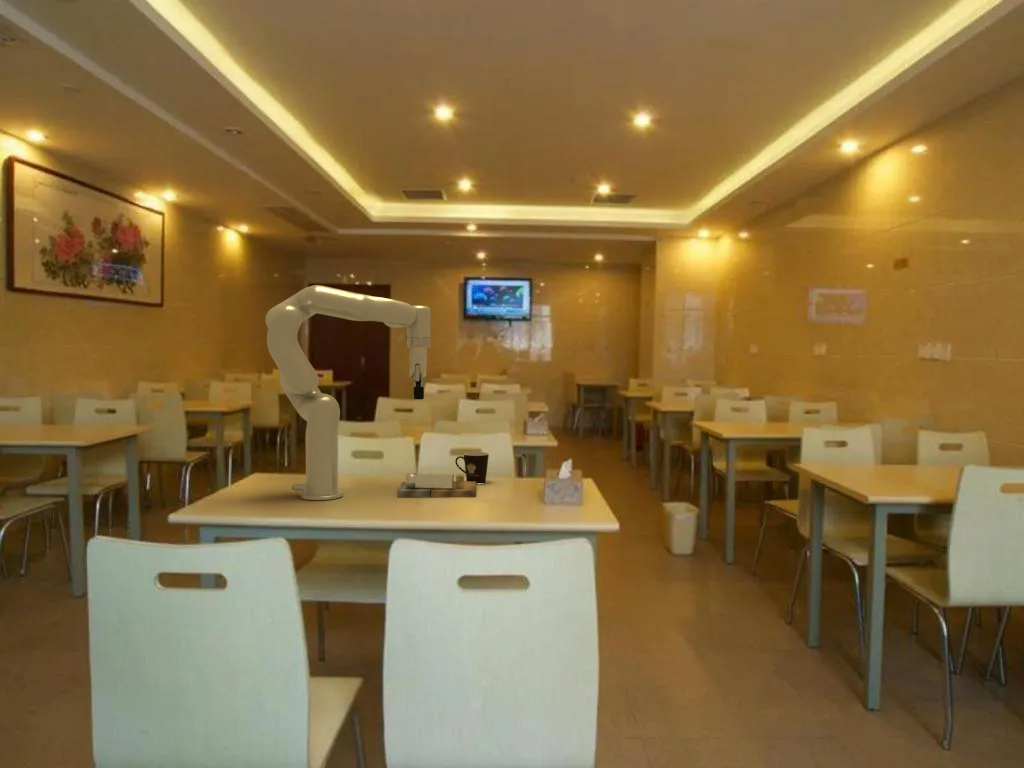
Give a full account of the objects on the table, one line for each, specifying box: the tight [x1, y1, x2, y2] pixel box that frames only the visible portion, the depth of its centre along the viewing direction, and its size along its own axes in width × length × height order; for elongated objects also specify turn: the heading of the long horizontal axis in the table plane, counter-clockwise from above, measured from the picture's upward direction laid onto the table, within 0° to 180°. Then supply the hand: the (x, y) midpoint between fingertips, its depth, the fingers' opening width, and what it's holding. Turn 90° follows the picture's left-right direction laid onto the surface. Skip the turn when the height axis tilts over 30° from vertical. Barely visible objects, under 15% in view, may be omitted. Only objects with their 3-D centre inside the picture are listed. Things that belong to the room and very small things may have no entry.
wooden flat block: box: [396, 473, 477, 498], centre depth 219 cm, size 24×16×6 cm, turn 92°
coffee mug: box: [454, 451, 490, 484], centre depth 237 cm, size 12×9×10 cm
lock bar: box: [405, 472, 455, 488], centre depth 214 cm, size 15×4×4 cm, turn 86°
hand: (418, 399), depth 227 cm, fingers closed
